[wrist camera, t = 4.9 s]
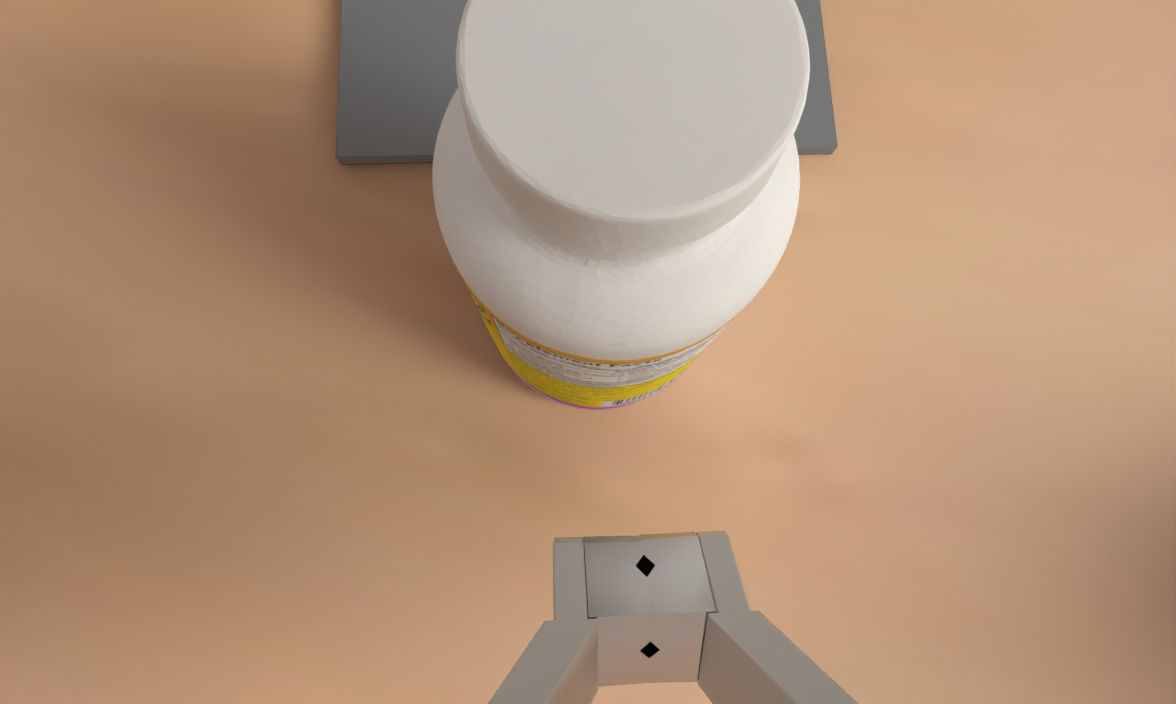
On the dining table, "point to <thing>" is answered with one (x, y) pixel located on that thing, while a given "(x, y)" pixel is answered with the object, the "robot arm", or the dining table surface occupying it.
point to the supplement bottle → (618, 180)
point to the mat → (428, 82)
